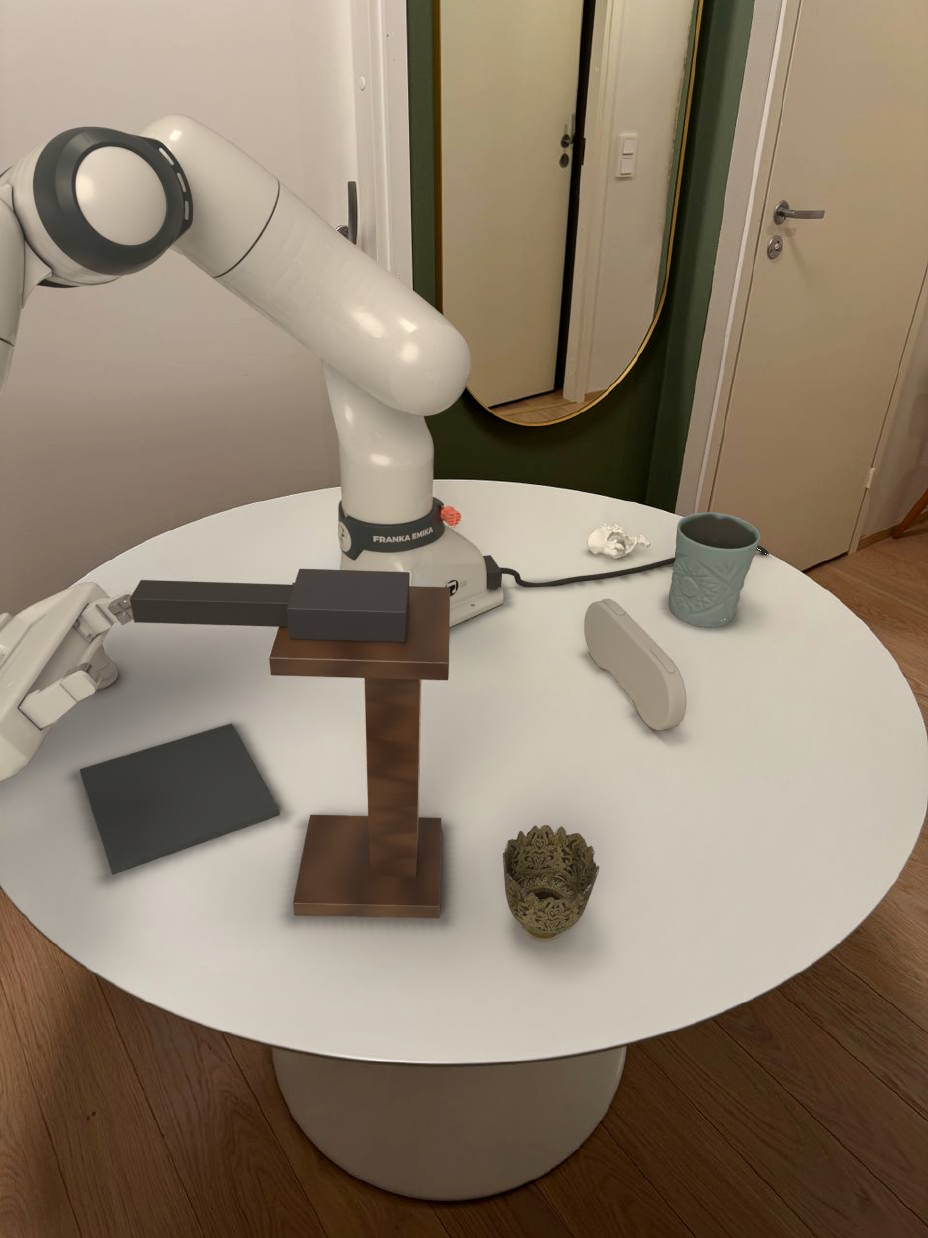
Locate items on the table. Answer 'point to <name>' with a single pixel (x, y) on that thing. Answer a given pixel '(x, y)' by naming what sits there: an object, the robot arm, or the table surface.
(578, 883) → the cup
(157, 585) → the block with square shaft
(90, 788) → the mat
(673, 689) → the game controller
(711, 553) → the teal embossed pot
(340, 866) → the stand
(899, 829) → the table surface
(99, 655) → the rook chess piece
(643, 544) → the pelvis model
